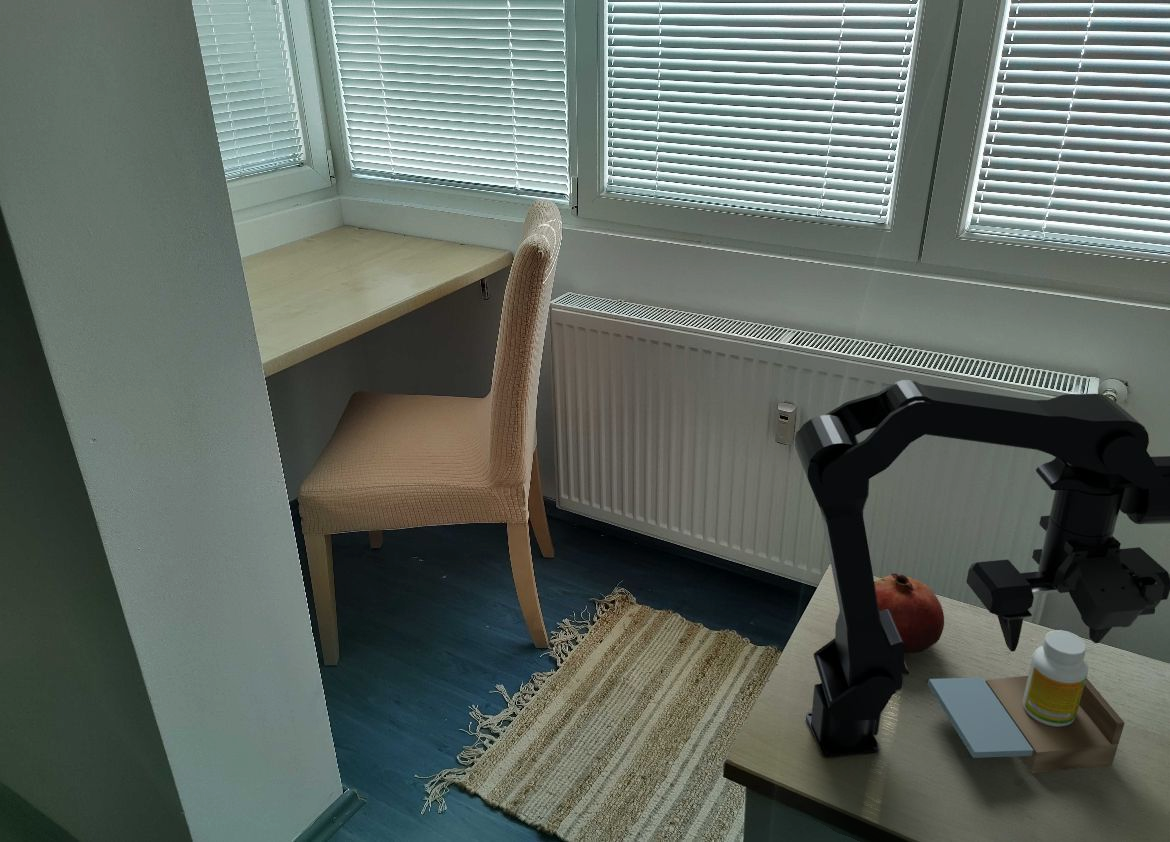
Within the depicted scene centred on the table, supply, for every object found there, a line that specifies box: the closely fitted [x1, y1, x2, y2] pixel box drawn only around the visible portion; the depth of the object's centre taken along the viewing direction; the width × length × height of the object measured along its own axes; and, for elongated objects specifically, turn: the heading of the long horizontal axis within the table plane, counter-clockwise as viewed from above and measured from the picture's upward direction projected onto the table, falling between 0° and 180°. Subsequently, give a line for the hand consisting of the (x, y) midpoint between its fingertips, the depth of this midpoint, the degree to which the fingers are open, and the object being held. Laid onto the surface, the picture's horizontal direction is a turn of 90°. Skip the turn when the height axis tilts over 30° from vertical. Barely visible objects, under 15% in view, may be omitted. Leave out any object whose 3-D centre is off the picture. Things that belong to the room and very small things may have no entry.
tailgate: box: [927, 677, 1033, 759], centre depth 100 cm, size 1×11×6 cm
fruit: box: [874, 573, 945, 655], centre depth 114 cm, size 11×10×10 cm
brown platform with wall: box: [985, 675, 1126, 774], centre depth 100 cm, size 9×11×6 cm
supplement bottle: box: [1023, 629, 1089, 727], centre depth 98 cm, size 5×5×10 cm
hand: (1052, 644), depth 96 cm, fingers open, 9 cm apart
